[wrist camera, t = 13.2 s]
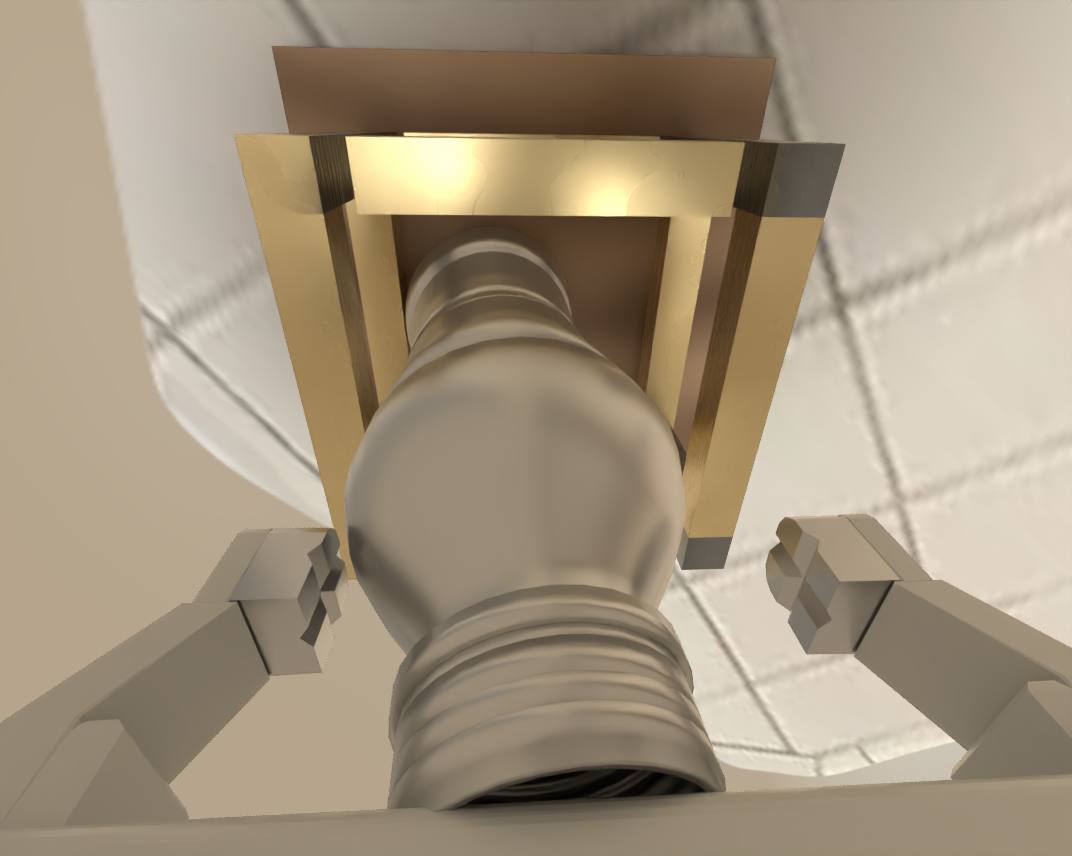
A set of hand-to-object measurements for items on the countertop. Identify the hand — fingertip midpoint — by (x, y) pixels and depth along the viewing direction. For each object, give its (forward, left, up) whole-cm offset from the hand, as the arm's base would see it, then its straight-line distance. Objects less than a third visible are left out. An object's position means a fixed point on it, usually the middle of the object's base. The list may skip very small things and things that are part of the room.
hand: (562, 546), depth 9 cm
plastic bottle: (0, -2, -15) cm, 16 cm away
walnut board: (0, 0, -17) cm, 17 cm away
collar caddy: (0, 0, -15) cm, 15 cm away
